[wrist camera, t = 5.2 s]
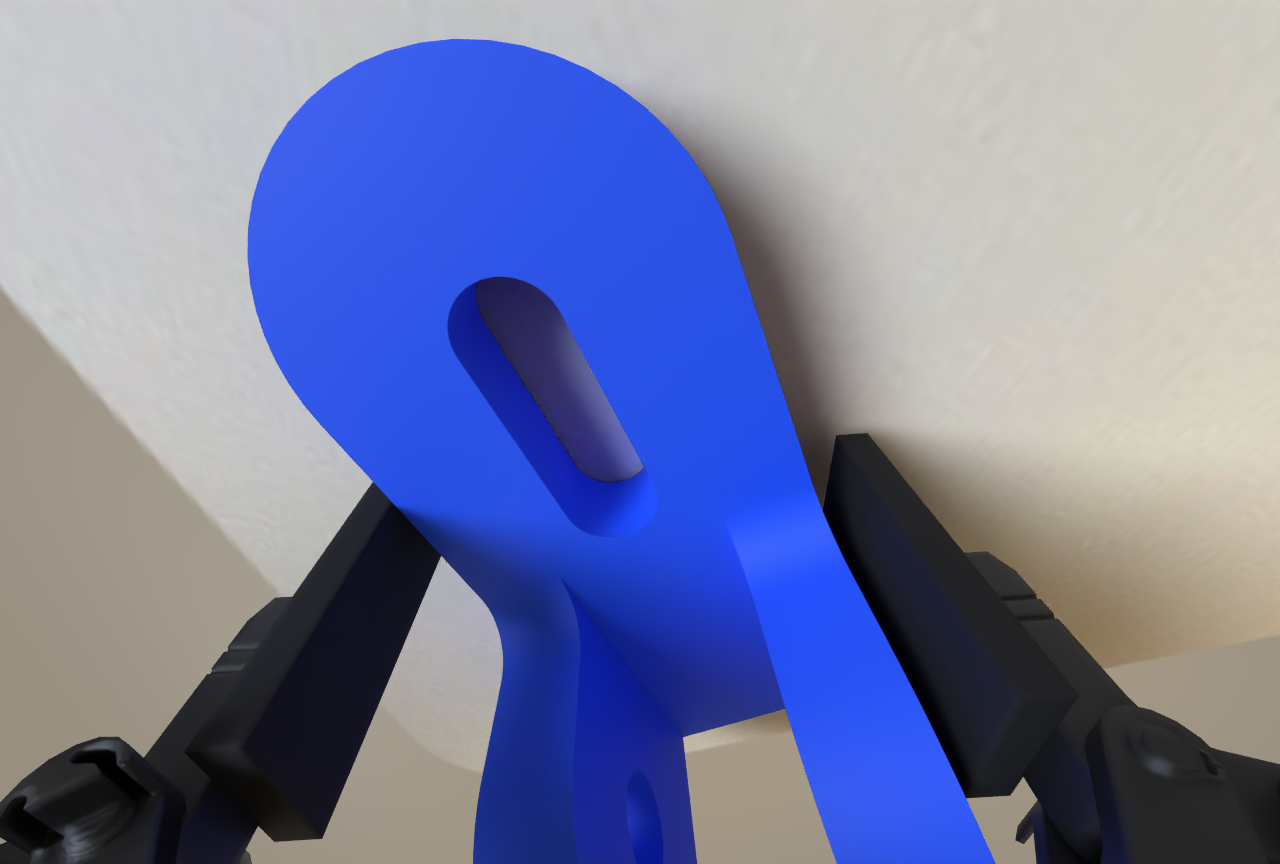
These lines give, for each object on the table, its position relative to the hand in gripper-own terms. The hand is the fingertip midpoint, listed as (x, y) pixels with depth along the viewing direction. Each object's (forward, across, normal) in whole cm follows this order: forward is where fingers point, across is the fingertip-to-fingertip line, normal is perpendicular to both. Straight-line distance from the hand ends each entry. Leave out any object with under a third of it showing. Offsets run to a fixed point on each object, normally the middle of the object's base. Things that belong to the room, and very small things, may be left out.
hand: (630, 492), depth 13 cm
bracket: (+1, 0, 0) cm, 1 cm away
